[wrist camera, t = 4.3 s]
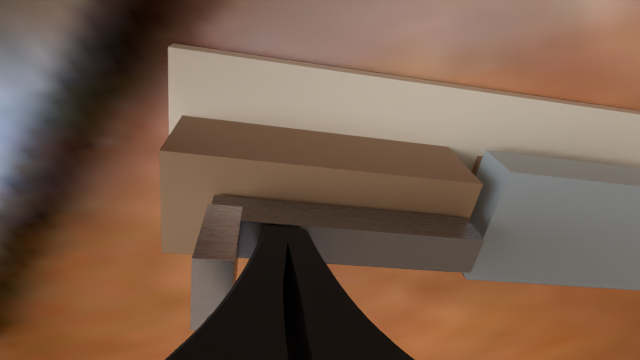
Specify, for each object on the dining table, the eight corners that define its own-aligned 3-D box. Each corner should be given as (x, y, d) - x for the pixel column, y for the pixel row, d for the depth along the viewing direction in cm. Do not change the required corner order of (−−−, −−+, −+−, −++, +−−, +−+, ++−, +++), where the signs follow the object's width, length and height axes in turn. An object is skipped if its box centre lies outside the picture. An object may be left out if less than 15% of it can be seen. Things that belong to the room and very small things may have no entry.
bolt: (451, 258, 15) (500, 341, 12) (211, 241, 14) (190, 330, 11) (471, 205, 14) (532, 280, 11) (214, 181, 13) (191, 258, 10)
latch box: (612, 270, 23) (677, 328, 19) (174, 238, 19) (149, 303, 15) (706, 120, 19) (811, 157, 15) (172, 43, 15) (138, 67, 11)
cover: (618, 262, 20) (651, 291, 18) (447, 249, 18) (466, 279, 17) (674, 172, 17) (718, 195, 16) (485, 149, 16) (511, 171, 14)
